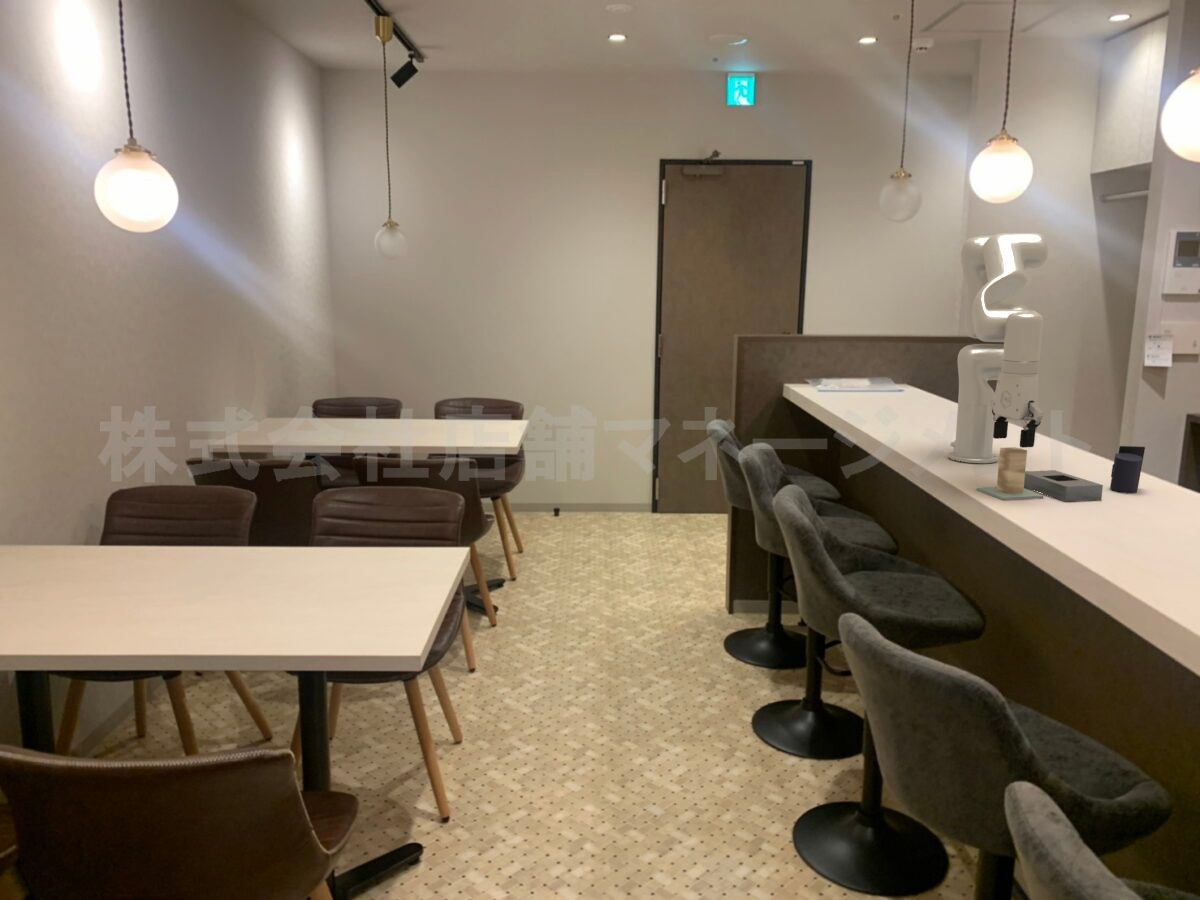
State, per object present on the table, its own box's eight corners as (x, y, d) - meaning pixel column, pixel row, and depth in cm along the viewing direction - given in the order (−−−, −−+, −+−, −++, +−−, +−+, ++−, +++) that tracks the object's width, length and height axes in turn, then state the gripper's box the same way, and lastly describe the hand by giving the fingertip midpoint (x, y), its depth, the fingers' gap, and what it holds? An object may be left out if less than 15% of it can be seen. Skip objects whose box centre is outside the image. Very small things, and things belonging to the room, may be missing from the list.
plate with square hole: (1019, 485, 209) (1020, 471, 209) (1053, 484, 211) (1054, 470, 210) (1065, 502, 194) (1066, 486, 193) (1101, 500, 195) (1102, 484, 195)
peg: (996, 490, 203) (1000, 447, 201) (1011, 489, 203) (1015, 447, 202) (1007, 494, 199) (1011, 451, 197) (1023, 493, 200) (1027, 450, 198)
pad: (976, 490, 205) (977, 487, 205) (1015, 488, 207) (1015, 485, 207) (1003, 500, 196) (1003, 497, 195) (1043, 498, 197) (1043, 495, 197)
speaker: (1110, 484, 210) (1117, 442, 207) (1138, 488, 207) (1145, 446, 204) (1107, 493, 204) (1114, 451, 201) (1136, 497, 201) (1143, 454, 198)
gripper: (981, 364, 204) (975, 435, 207) (1029, 373, 187) (1022, 451, 191) (1011, 363, 205) (1004, 434, 209) (1061, 372, 188) (1052, 449, 192)
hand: (1012, 442), depth 200 cm, fingers open, 9 cm apart
